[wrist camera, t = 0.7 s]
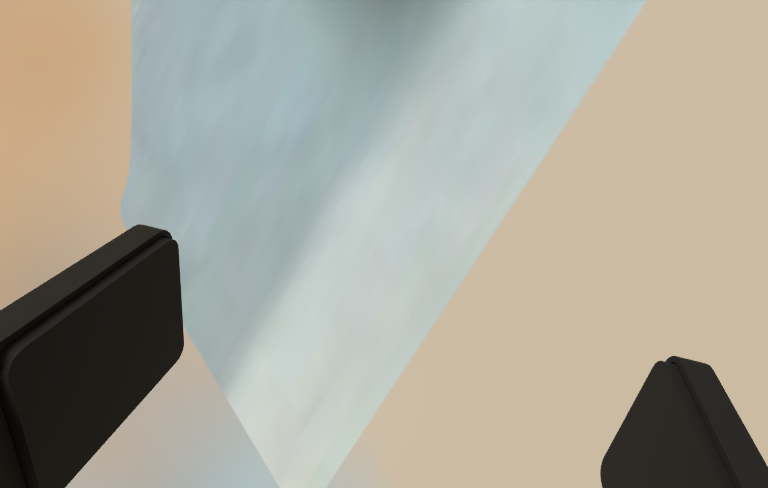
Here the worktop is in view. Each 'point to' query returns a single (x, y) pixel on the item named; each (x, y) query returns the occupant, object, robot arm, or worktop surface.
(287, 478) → the worktop surface
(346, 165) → the worktop surface
